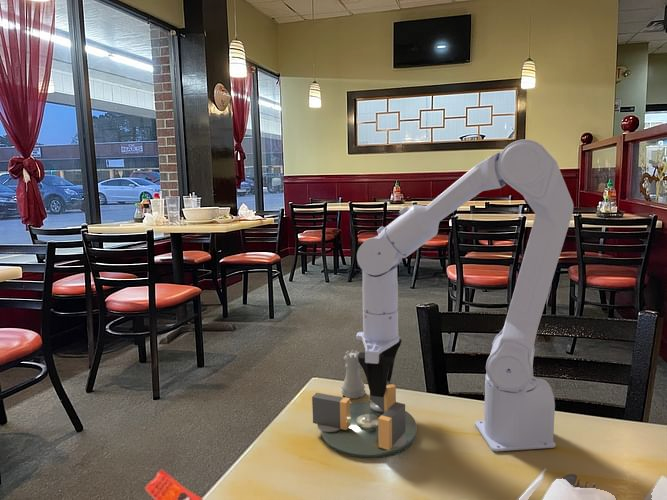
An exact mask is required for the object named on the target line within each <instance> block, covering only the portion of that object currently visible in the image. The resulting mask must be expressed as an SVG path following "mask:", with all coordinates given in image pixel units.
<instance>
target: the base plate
mask: <svg viewBox="0 0 667 500" xmlns="http://www.w3.org/2000/svg"><path fill="white" fill-rule="evenodd" d="M371 402H372V401H371V400H370V401H355V402H350V424H351V425H350V426H349V428H348V429H347V430H343V429H340V430H338V431H336V432H324V431H321V430H320V435H321V438H322V441H323V443H324V444H325V445H326V446H327V447H329V448H330V449H331V450H333V451H335V452H336V453H338V454H342V455H344V456H348V457H350V458H351V457H352V458H355V459H356V458H357V459H368V460H370V459H382V458H383V459H384V458H389V457H392V456H394V455H395V456H396V455H398V454H401V453H402V452H404V451H406V450H407V449H409V448H410V447H411V446H412V445H413V443H414V442H415V441H416V438H417V423H416V420H415V418H414V417H413V415H412V414H411V413H409V411H407V410H405V432H404V435H405V436H406V437H407V442H406V444H405V445H403V446H401V447H397V448H390V450H387V449H383V448H380V447H379V439H378V418H379V417H380V416H381V415H382V414H383V413H385V412H376V411H374V410H372V409H371V408H370V403H371Z"/></svg>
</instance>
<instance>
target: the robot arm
mask: <svg viewBox="0 0 667 500" xmlns="http://www.w3.org/2000/svg"><path fill="white" fill-rule="evenodd" d="M506 185H508V186H510V188H512V189H514V190H515V191H516V192H518V193H519V194H520V195H522V196H523V198H524V200H525V201H526V203H527V204H528V206H529V207H530V209H531V210H532V211H533V213H534V215H535V216H534V218H533V222H532V227H531V230H530V234H529V238H528V240H527V244H526V248H525V250H524V254H523V258H522V262H521V266H520V268H519V271H518V272H519V273H518V276H517V278H516V281H515V287H514V291H513V293H512V298H511V300H510V303H509V306H508V311H507V315H506V318H505V320H504V326H503V328H502V329H501V330H500V332H499V333H497V334H496V335H495V337H494V338H493V340H492V343H491V349H490V350H491V351H490V354H489V356H488V358H487V360H486V364H485V370H486V373H485V378H484V379H485V380H484V381H485V382H484V409H483V410H484V412H483V413H484V414H483V415H484V419H483V420H476V421H474V426H475V427H476V429H477V430H478V431H479V433H480V434H481V436H482V437H483V439H484V440H485V442H486V443H487V445H488V446H489V448H490V449H491V451H493V452H505V451H506V452H507V451H508V452H509V451H519V450H520V451H521V450H536V449H537V450H538V449H539V450H540V449H552V448H556V446H557V445H556V443H555V441H554V435H555V434H554V431H555V413H556V412H555V410H556V409H555V408H556V401H555V395H554V392H553V389H552V387H551V386H550V384H549V382H548V381H547V380H545V379H544V378H537V377H536V376H534V367H533V365H534V357H535V353H536V350H535V343H536V342H535V341H536V338H537V337H536V336H537V333H538V329H539V325H540V323H541V318H542V315H543V312H544V309H545V304H546V302H547V299H548V296H549V292H550V289H551V286H552V282H553V279H554V276H555V272H556V269H557V267H558V266H557V265H558V263H559V259H560V256H561V252H562V250H563V247H564V243H565V239H566V236H567V232H568V231H569V230H568V229H569V227H570V222H571V220H572V216H573V213H574V208H575V207H574V206H575V205H574V201H573V199H572V197H571V194H570V192H569V190H568V187H567V184H566V181H565V179H564V177H563V174H562V172H561V168H560V166H559V164H558V162H557V160H556V159H555V158H554V156H552V155H551V154H550V152H549V151H547V149H546V148H545V147H544V146H543V145H542V144H540V143H539V142H537V141H535V140H532V139H526V138H525V139H518V140H516V141H513V142H511V143H509V144H507V145H506V146H505V147H504V148H503V150H502V151H501V152H499V151H498V152H496V153H493V154H492V155H490V156H489V157H487V158H486V159H484V160H482V161H480V162H479V163H477V164H476V165H474V166H473V167H471V168H470V169H469V170H468V171H467V172H466V173H464V174H462V176H461V177H459V179H457V180H455V182H453V183H452V184H451V185H450V186H449V187H447V188H446V189H445V190H444V191H443V192H442V193H440V194H439V195H437V196H436V197H435V198H434V199H433V200H432V201H431V202H429V203H428V204H427V205H421V204H413V205H411V206H410V207H409V205H408V206H404V207H403V208H401V209H400V210H399V214H400V215H399V216H398V217H396V218H395V219H394V220H393V221H391V222H390V223H388V225H386V226H380V227H379V228H378V229H377V230H376V232H377V235H376V236H374V237H369V238H366V239H364V240H363V242H362V244H361V245H360V246H359V247H358V249H357V252H356V261H357V264H358V267H359V268H360V269H361V270H362V282H361V283H362V284H361V285H362V286H361V287H362V290H361V291H362V331H358V332H357V333H356V335H355V339H356V340H358V341H359V340H360V341H361V342H362V343H363V346H364V349H365V350H364V351H363V352H362V351H361V352H359V355H358V361H359V364H360V367H361V368H362V370H363V372H364V375H365V378H366V381H367V385H368V389H369V394H370V393H371V396H376V397H384V394H385V391H386V385H387V380H388V381H389V382H390V383H391V380H392V375H393V372H394V371H393V370H394V365H395V361H396V360H395V359H396V357H397V354H398V350H399V348H400V347H401V345H402V339H401V338H400V335H399V283H398V265H399V264H400V263H401V261H402V260H403V259H405V258H407V257H409V256H410V255H412V254H413V253H414V252H416V251H417V250H418V249H420V248H421V247H422V246H424V245H425V244H426V243H428V242H429V241H430V240H432V239H433V238H434V237H436V236H437V235H438V232H439V225H440V222H441V221H442V220H443V219H445V218H447V217H448V216H449V215H450V214H453V212H455V211H456V210H458V209H459V208H460V207H462V206H463V205H465V204H466V203H468V202H469V201H470V200H472V199H473V198H475V197H476V196H477V195H479V194H480V193H482V192H484V191H485V192H486V191H490V190H498V189H501V188H503V187H505V186H506Z"/></svg>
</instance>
